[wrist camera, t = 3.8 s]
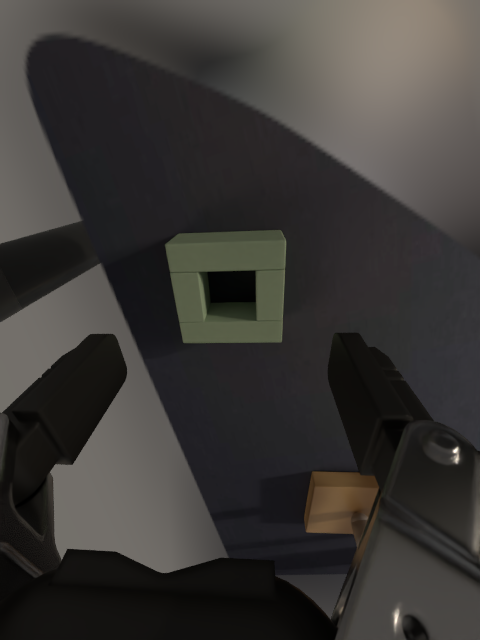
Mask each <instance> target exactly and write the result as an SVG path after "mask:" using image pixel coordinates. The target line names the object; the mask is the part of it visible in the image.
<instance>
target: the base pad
mask: <svg viewBox="0 0 480 640" xmlns="http://www.w3.org/2000/svg"><path fill="white" fill-rule="evenodd" d="M378 489H379V486H378V483H377V481H376V478H375V476H365V475H360V472H314V471H312V474H311V480H310V486H309V492H308V498H307V504H306V509H305V515H304V521H305V528H306V532H314V533H342V534H354V537H355V541H356V545H357V547H358V544H359V541H360V538H361V536H362V533H363V530H364V527H365V525H366V522H367V519H368V516H369V513H370V511H371V508H372V505H373V502H374V499H375V497H376V494H377V491H378Z"/></svg>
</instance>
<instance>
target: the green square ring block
mask: <svg viewBox="0 0 480 640" xmlns="http://www.w3.org/2000/svg"><path fill="white" fill-rule="evenodd" d="M165 248H166V253H167V259H168V264H169V269H170V272H171V273H170V276H171V281H172V287H173V292H174V297H175V302H176V308H177V313H178V318H179V322H180V328H181V334H182V339H183V343H250V342H282V324H283V321H282V319H283V302H284V280H285V270H284V269H285V258H286V240H285V238H284V236H283V233H282V231H281V230H265V231H237V232H210V233H183V234H177V235H176V236H175V237H174V238H172V239H171V240H170V241H169V242H168V243H166V244H165ZM248 270H256V302H225V303H211V300H210V291H209V282H208V273H207V272H211V271H248Z"/></svg>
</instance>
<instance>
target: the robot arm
mask: <svg viewBox="0 0 480 640" xmlns="http://www.w3.org/2000/svg"><path fill="white" fill-rule="evenodd" d="M396 369H397V368H396V367H395V365H394V364H393V363H392V361H391V360H390V358H389V357H388V356H387V355H385V354H384V353H382V352H381V351H380V350H378V349H377V348H376V347H368V346H367V345H366V343H365V342H364V340H363V339H362V337H361V335H360V334H359V333H335V334H334V336H333V340H332V346H331V352H330V358H329V364H328V380H329V385H330V388H331V390H332V393H333V396H334V399H335V402H336V405H337V408H338V411H339V414H340V417H341V420H342V423H343V426H344V428H345V431H346V434H347V437H348V440H349V443H350V446H351V449H352V452H353V455H354V458H355V461H356V464H357V467H358V469H359V472H360V475H365V476H375V478H376V481H377V483H378V486H379V489H378V491H377V494H376V497H375V499H374V502H373V505H372V508H371V511H370V513H369V516H368V519H367V522H366V525H365V527H364V530H363V533H362V536H361V538H360V541H359V544H358V547H357V550H356V552H355V555H354V558H353V561H352V563H351V566H350V568H349V571H348V573H347V576H346V579H345V581H344V584H343V586H342V589H341V592H340V595H339V598H338V600H337V603H336V606H335V608H334V611H333V614H332V617H331V620H330V618H329V617H328V616H327V615H326V613H325V612H324V611H323V610H322V609H321V608H320V607H319V606H318V605H317V604H316V603H315V602H314V601H313V600H312V599H311V598H309V597H308V596H307V595H306V594H305V593H303V592H302V591H301V590H300V589H298V588H297V587H295V586H293V585H292V584H290V583H289V582H287V581H285V580H283V579H280V578H278V577H276V576H275V566H274V561H270V560H252V559H235V558H218V559H215V560H212V561H208V562H205V563H201V564H198V565H195V566H191V567H187V568H184V569H180V570H177V571H173V572H170V573H160V572H157V571H155V570H153V569H151V568H149V567H147V566H145V565H143V564H140V563H138V562H136V561H134V560H132V559H130V558H128V557H126V556H124V555H121V554H120V553H118V552H112V551H95V550H77V549H67V551H66V553H65V555H64V557H63V559H62V561H61V558H60V555H59V553H58V551H57V548H56V545H55V538H54V501H53V477H52V475H51V473H50V471H51V469H52V468H53V467H54V465H55V464H65V465H72V464H73V463H74V461H75V460H76V458H77V457H78V455H79V454H80V452H81V450H82V449H83V447H84V446H85V444H86V442H87V441H88V439H89V438H90V436H91V434H92V433H93V431H94V430H95V428H96V426H97V425H98V423H99V421H100V420H101V419H102V417H103V415H104V414H105V412H106V411H107V409H108V407H109V406H110V404H111V403H112V401H113V399H114V398H115V396H116V395H117V393H118V392H119V390H120V388H121V387H122V385H123V383H124V382H125V379H126V376H127V367H126V364H125V361H124V358H123V355H122V352H121V349H120V346H119V343H118V340H117V338H116V337H115V335H113V334H90V335H89V336H88V337H86V338H85V339H84V340H83V341H82V342H81V343H80V344H79V345H78V346H77V347H76V348H75V349H73V350H71V351H70V352H68V353H66V354H65V355H63V356H62V357H61V358H59V359H58V360H57V361H56V362H55V363H54V364H53V365H52V366H51V369H48V370H47V371H46V372H45V373H44V374H42V377H41V378H38V379H37V380H36V381H35V382H34V383H33V384H32V385H31V386H30V387H29V388H28V389H27V390H26V391H24V392H23V393H22V394H21V395H20V396H19V397H18V398H17V399H16V400H15V401H14V402H13V403H12V404H11V405H10V406H9V407H8V408H7V409H6V410H4V411H3V412H2V413H0V640H480V561H479V554H480V451H477V450H476V449H475V447H474V446H473V445H472V444H471V443H470V442H469V441H468V440H467V439H466V438H465V437H464V436H462V435H461V434H460V433H458V432H457V431H455V430H453V429H452V428H450V427H448V426H446V425H443V424H441V423H438V422H434V420H433V419H432V418H431V416H430V415H429V413H428V412H427V410H426V409H425V408H424V406H423V405H422V403H421V402H420V401H419V399H418V398H417V396H416V395H415V394H414V392H413V391H412V389H411V388H410V387H409V385H408V384H407V382H406V381H404V380H403V379H404V378H403V377H402V375H401V374H400V373H399V371H397V370H396Z"/></svg>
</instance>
